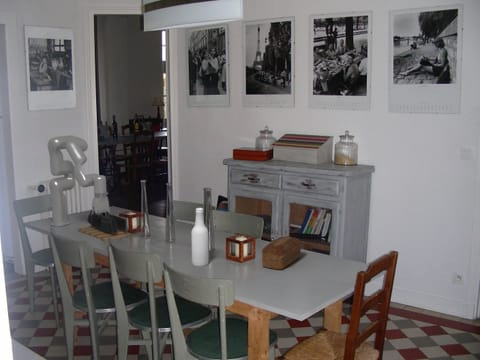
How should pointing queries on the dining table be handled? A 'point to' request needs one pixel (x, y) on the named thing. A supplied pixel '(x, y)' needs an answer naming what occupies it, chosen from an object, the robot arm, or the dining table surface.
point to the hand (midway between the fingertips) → (101, 223)
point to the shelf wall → (119, 222)
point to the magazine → (103, 223)
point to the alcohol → (199, 240)
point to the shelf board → (102, 233)
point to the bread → (281, 252)
